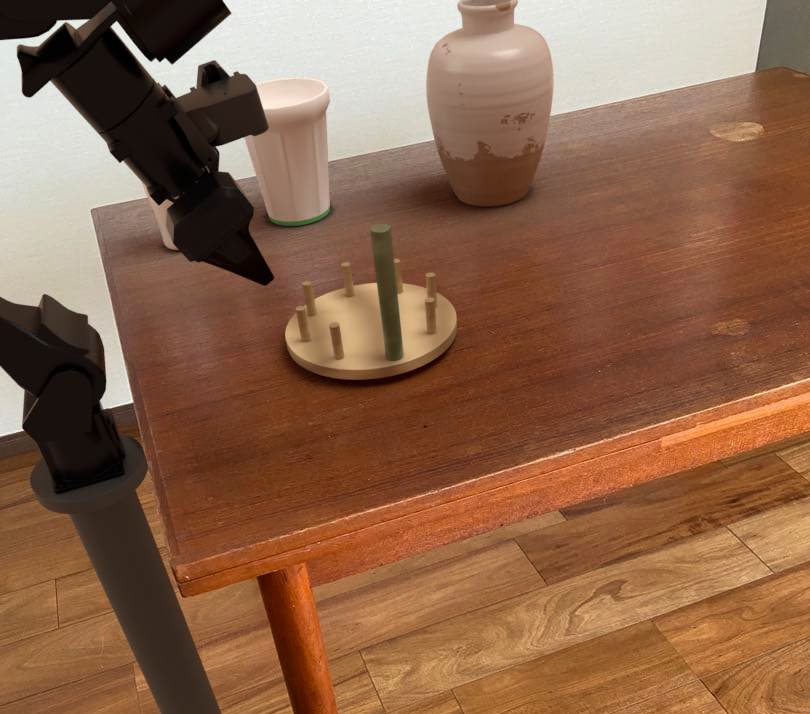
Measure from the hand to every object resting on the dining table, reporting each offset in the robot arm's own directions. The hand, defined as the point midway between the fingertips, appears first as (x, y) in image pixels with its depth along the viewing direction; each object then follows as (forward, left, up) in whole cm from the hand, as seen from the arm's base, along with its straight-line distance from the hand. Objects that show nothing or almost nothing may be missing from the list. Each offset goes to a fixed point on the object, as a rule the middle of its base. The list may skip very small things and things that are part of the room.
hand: (256, 258), depth 76 cm
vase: (+38, +36, -15) cm, 55 cm away
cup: (+13, +44, -15) cm, 49 cm away
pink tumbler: (-3, +43, -15) cm, 46 cm away
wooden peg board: (+11, +7, -15) cm, 20 cm away
